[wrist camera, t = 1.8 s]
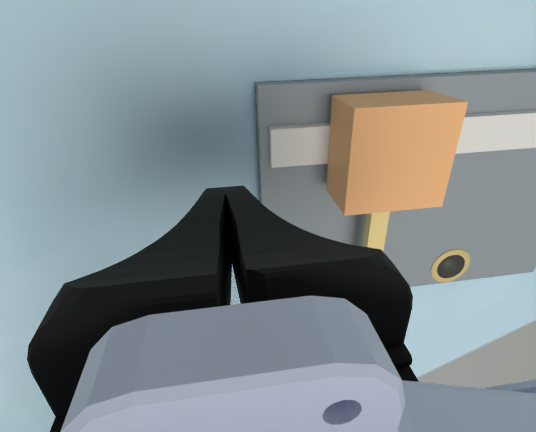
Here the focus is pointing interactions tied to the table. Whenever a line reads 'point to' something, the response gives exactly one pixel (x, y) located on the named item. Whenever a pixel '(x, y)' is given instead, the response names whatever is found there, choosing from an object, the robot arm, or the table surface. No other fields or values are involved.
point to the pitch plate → (459, 185)
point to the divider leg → (391, 154)
